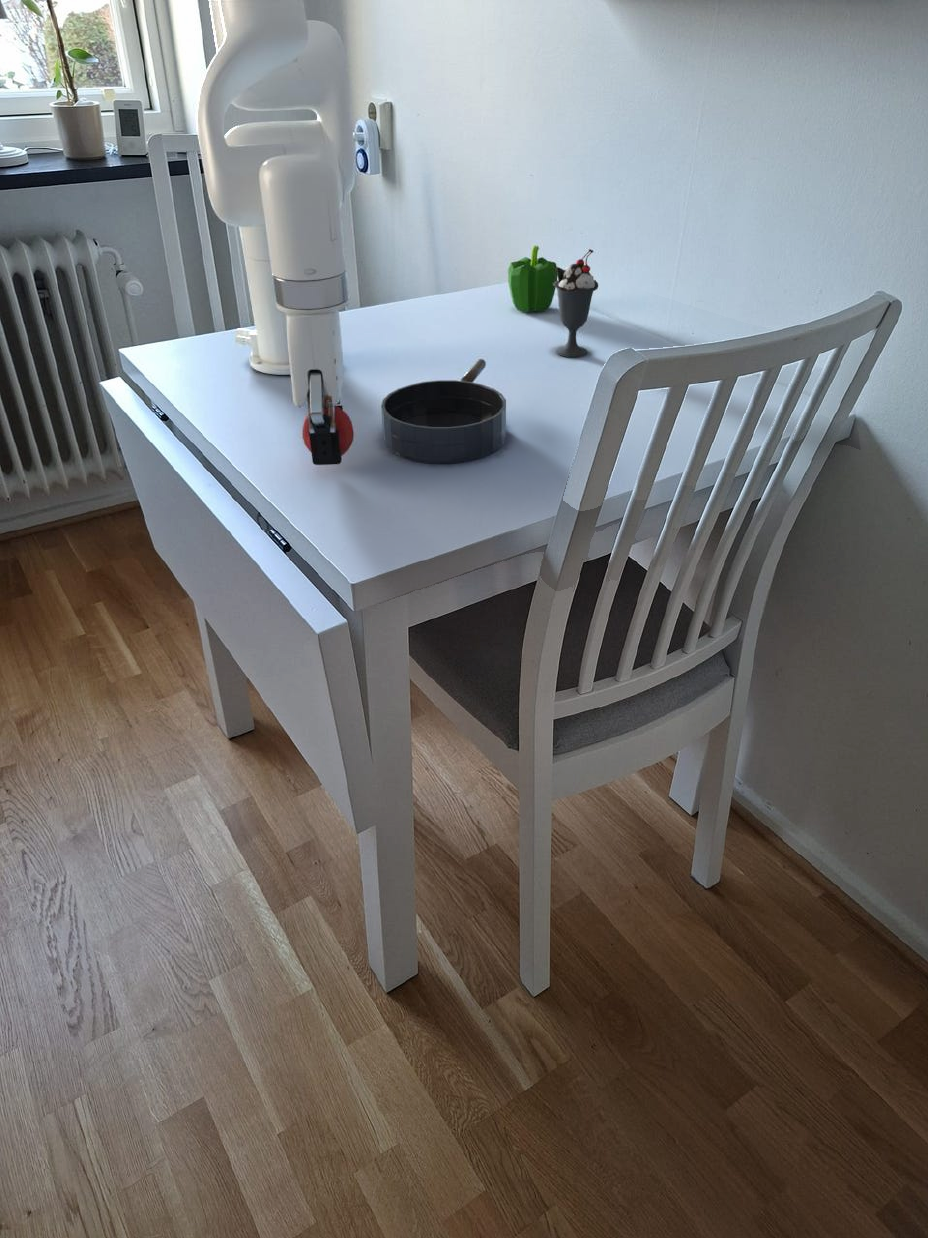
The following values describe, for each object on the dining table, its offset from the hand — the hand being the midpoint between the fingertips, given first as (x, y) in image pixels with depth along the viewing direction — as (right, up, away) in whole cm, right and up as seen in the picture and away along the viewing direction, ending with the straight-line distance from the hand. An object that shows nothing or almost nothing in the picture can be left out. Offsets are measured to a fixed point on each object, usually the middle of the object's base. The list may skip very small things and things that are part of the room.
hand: (329, 449), depth 100 cm
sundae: (+32, +21, +33) cm, 51 cm away
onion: (0, -2, +1) cm, 2 cm away
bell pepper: (+28, +34, +51) cm, 67 cm away
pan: (+13, +3, +8) cm, 16 cm away
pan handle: (+17, +12, +16) cm, 26 cm away
